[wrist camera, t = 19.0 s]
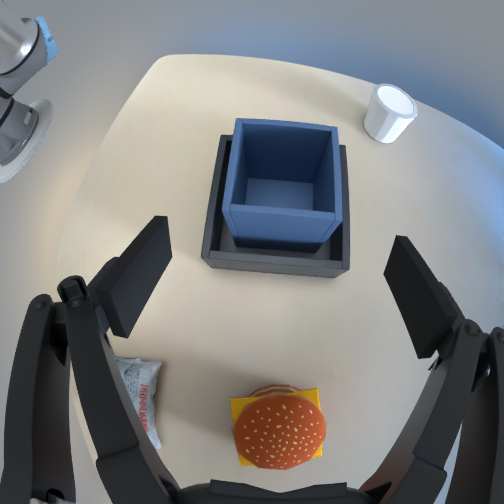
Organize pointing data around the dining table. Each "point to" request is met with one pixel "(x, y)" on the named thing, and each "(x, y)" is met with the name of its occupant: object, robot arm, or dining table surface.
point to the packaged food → (142, 391)
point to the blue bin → (283, 185)
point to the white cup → (388, 113)
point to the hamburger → (278, 427)
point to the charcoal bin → (265, 260)
